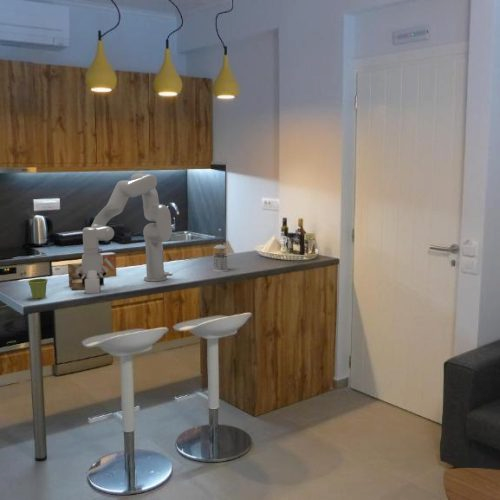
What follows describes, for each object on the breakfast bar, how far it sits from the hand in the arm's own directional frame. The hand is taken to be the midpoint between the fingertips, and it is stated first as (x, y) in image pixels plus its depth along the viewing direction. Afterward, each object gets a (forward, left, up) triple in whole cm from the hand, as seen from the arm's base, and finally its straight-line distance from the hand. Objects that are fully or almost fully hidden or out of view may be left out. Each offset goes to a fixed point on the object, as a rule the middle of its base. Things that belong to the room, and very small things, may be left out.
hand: (92, 285), depth 317 cm
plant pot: (+26, +6, -4) cm, 27 cm away
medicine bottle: (0, 0, -4) cm, 4 cm away
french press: (-73, -39, -4) cm, 83 cm away
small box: (-7, -40, -4) cm, 41 cm away
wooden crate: (+4, -11, -3) cm, 13 cm away
